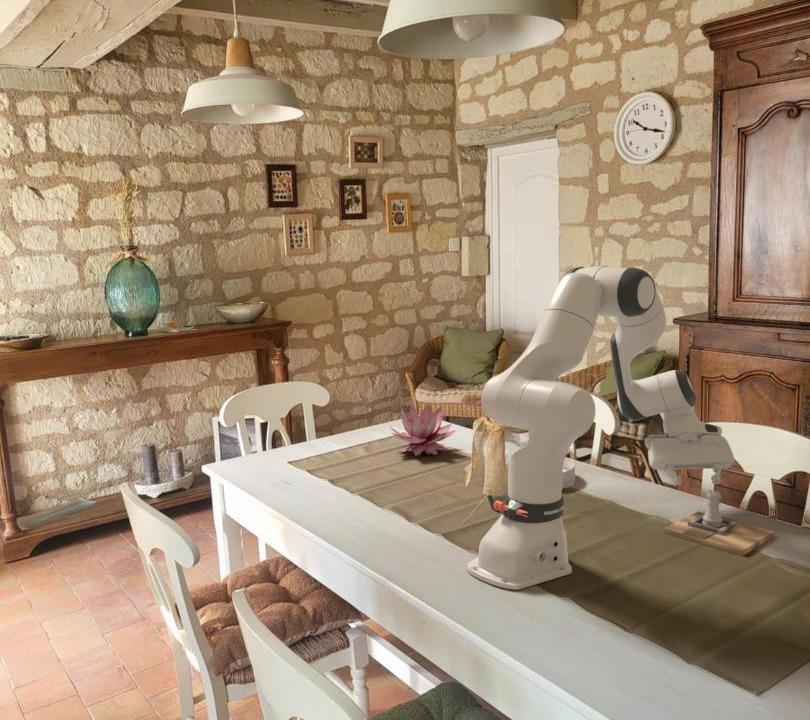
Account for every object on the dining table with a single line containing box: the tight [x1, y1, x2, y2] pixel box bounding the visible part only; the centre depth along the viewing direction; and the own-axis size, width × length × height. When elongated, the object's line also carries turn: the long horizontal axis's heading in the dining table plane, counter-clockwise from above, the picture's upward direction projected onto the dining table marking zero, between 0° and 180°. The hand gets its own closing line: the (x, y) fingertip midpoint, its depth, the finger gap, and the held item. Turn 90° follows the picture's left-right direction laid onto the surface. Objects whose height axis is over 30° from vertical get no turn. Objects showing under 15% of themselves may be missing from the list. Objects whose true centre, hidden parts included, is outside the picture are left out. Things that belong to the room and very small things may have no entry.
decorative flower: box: [389, 402, 457, 456], centre depth 240 cm, size 21×21×15 cm
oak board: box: [663, 511, 775, 557], centre depth 170 cm, size 16×18×2 cm
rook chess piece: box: [702, 490, 723, 528], centre depth 171 cm, size 4×4×8 cm
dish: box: [562, 457, 576, 489], centre depth 212 cm, size 22×22×5 cm
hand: (697, 483), depth 181 cm, fingers open, 8 cm apart
